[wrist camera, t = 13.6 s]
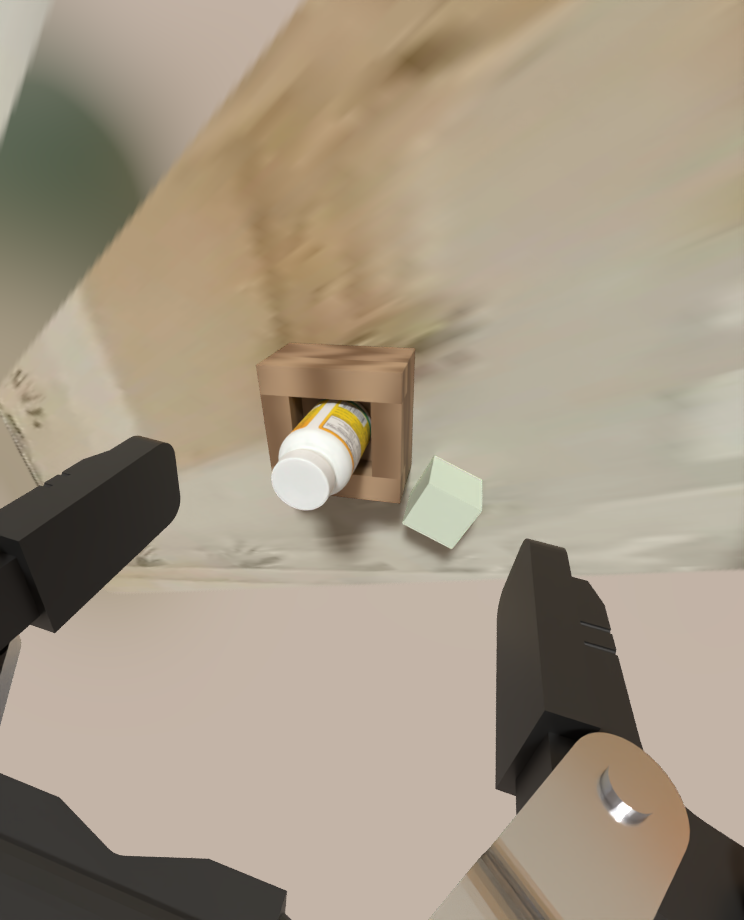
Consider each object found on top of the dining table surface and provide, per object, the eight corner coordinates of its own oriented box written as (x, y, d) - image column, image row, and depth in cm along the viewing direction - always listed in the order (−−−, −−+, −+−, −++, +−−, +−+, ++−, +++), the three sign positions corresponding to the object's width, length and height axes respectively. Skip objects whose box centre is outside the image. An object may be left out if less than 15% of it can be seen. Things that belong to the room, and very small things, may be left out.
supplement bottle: (372, 394, 34) (337, 451, 26) (375, 454, 37) (344, 523, 29) (307, 392, 35) (254, 445, 27) (314, 450, 38) (268, 515, 30)
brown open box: (415, 348, 36) (402, 373, 30) (411, 464, 41) (400, 503, 36) (289, 343, 38) (256, 365, 32) (301, 453, 43) (274, 489, 38)
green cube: (482, 479, 40) (482, 510, 36) (455, 516, 43) (451, 549, 39) (434, 454, 40) (428, 483, 36) (410, 493, 43) (402, 523, 39)
